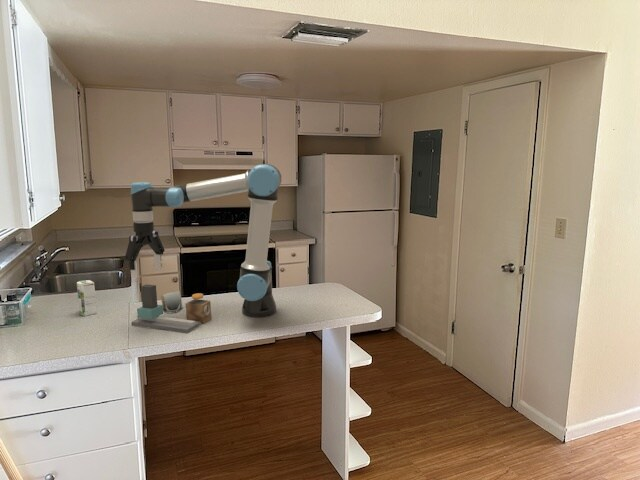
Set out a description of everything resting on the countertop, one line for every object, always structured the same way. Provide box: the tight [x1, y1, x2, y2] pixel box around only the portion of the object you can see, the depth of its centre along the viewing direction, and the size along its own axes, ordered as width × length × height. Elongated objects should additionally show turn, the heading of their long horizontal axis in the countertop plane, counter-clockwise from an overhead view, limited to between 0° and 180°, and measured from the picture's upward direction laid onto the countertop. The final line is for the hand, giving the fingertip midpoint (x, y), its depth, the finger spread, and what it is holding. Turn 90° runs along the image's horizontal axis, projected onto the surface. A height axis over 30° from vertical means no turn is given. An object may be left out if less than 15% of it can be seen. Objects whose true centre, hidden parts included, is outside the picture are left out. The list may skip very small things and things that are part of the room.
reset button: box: [191, 292, 204, 300], centre depth 184 cm, size 4×4×1 cm
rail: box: [131, 314, 202, 334], centre depth 180 cm, size 27×9×3 cm, turn 70°
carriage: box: [136, 284, 164, 319], centre depth 181 cm, size 7×7×13 cm
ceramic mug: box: [161, 290, 183, 313], centre depth 199 cm, size 11×8×8 cm
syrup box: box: [76, 279, 98, 317], centre depth 194 cm, size 6×6×14 cm
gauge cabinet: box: [185, 299, 212, 325], centre depth 185 cm, size 9×6×8 cm
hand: (146, 273), depth 179 cm, fingers open, 13 cm apart
